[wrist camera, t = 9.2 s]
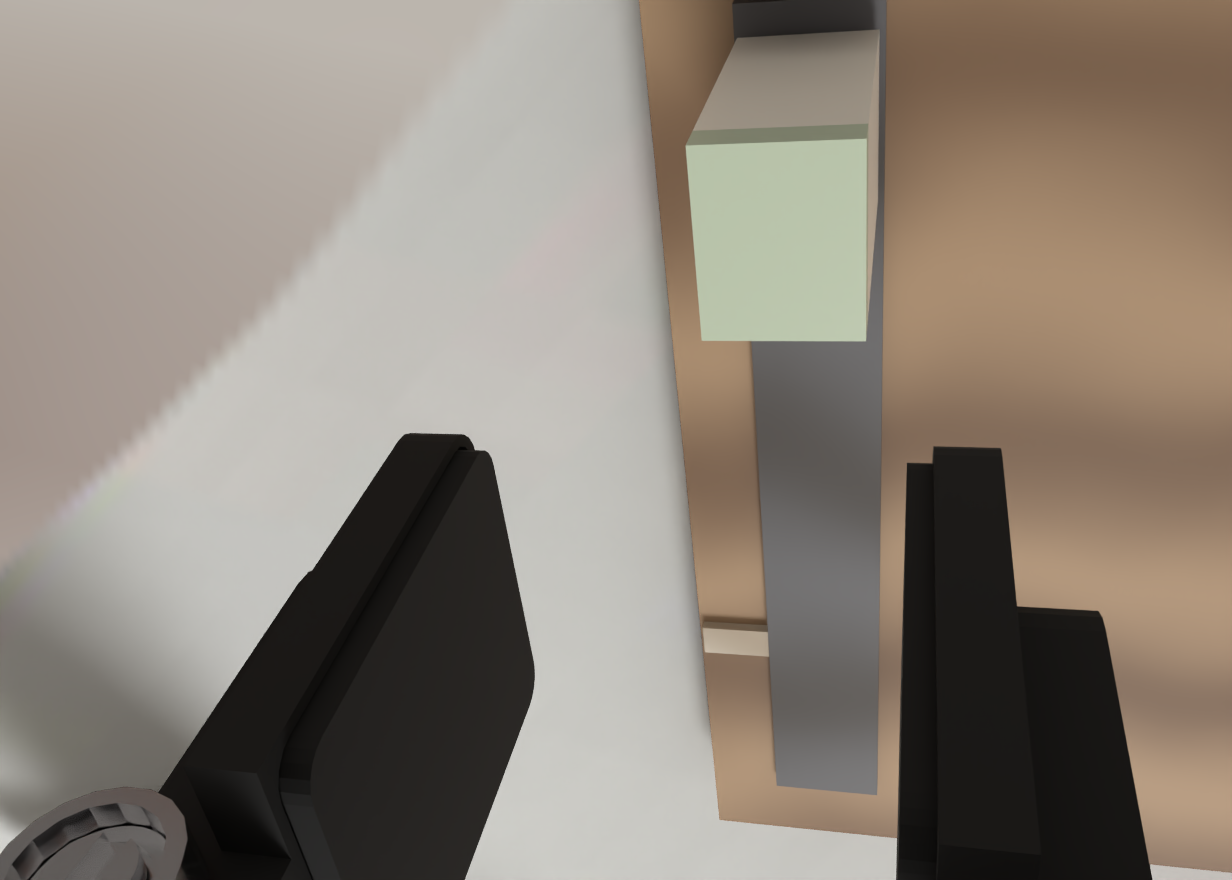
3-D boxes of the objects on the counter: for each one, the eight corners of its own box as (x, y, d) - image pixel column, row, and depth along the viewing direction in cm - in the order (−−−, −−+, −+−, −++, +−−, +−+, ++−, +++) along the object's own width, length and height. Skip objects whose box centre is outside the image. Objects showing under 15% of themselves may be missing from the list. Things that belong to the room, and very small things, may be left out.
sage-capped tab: (878, 198, 21) (866, 341, 17) (746, 201, 22) (701, 340, 17) (879, 29, 20) (866, 138, 15) (737, 37, 20) (685, 145, 16)
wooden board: (1516, 836, 29) (1588, 983, 26) (729, 764, 34) (708, 880, 31) (2028, -269, 16) (2297, -247, 13) (650, -135, 21) (601, -96, 18)
